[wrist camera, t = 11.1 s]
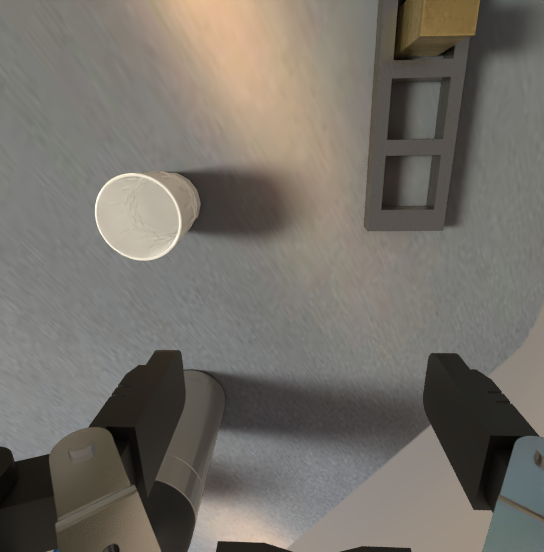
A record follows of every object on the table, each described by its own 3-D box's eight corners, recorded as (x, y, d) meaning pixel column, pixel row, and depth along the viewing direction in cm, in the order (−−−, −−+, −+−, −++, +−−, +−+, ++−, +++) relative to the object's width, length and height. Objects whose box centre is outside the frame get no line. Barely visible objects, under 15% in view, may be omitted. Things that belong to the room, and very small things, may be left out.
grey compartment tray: (435, 225, 42) (443, 230, 40) (363, 226, 43) (367, 231, 40) (468, -33, 34) (481, -45, 32) (380, -29, 34) (386, -41, 32)
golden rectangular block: (443, 6, 35) (484, -31, 28) (437, 57, 37) (474, 35, 29) (398, 7, 35) (427, -29, 28) (393, 58, 37) (420, 36, 29)
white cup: (213, 229, 44) (191, 253, 34) (149, 240, 44) (111, 266, 35) (196, 160, 41) (167, 165, 32) (129, 173, 42) (82, 182, 32)
